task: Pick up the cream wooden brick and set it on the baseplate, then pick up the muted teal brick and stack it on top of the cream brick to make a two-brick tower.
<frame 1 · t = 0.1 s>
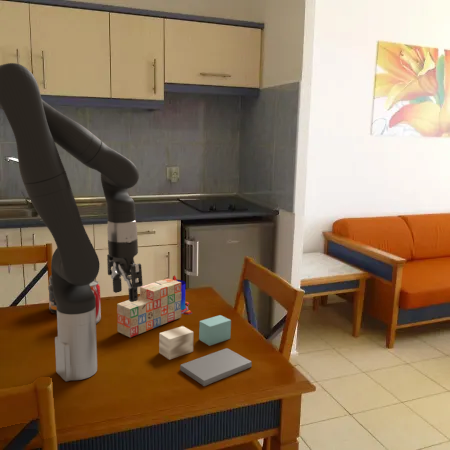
hand: (125, 296, 126), 17 cm above the table, tool pointing down, fingers open, 8 cm apart
baseplate: (216, 368, 125), on the table
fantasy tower: (174, 309, 165), on the table, touching stack of blocks
teal brick: (214, 339, 142), on the table
cream brick: (176, 352, 133), on the table
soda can: (89, 322, 152), on the table
supplement container: (65, 310, 161), on the table
stack of blocks: (150, 325, 151), on the table, touching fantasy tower
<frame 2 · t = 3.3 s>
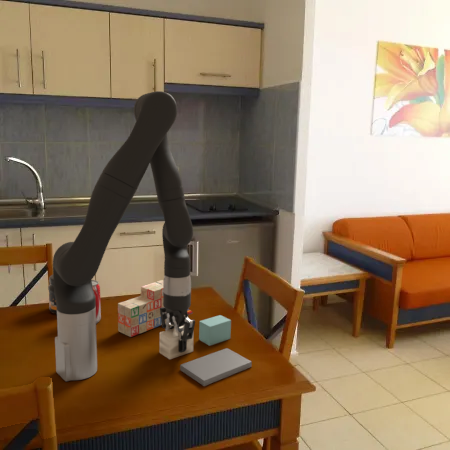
hand: (176, 347, 133), 1 cm above the table, tool pointing down, fingers closed on cream brick, 5 cm apart
cream brick: (176, 352, 133), on the table, touching gripper
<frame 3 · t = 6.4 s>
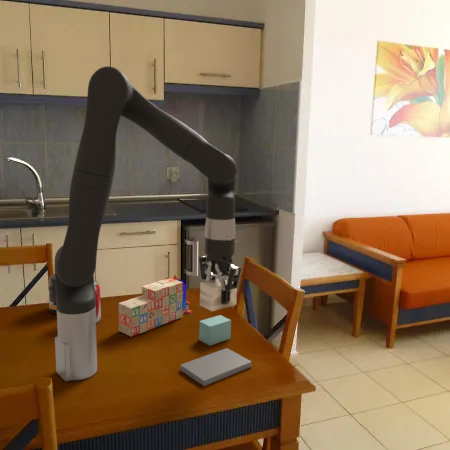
hand: (218, 300, 121), 19 cm above the table, tool pointing down, fingers closed on cream brick, 5 cm apart
cream brick: (218, 304, 122), point 18 cm above the table, touching gripper
when the fingers open (4 cm above the table, at t = 9.5 s): cream brick drops 1 cm, resting on baseplate.
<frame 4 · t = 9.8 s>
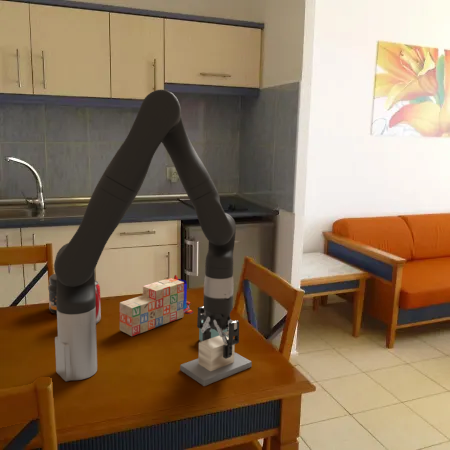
hand: (216, 351, 124), 5 cm above the table, tool pointing down, fingers open, 8 cm apart
cream brick: (216, 362, 125), point 1 cm above the table, touching baseplate
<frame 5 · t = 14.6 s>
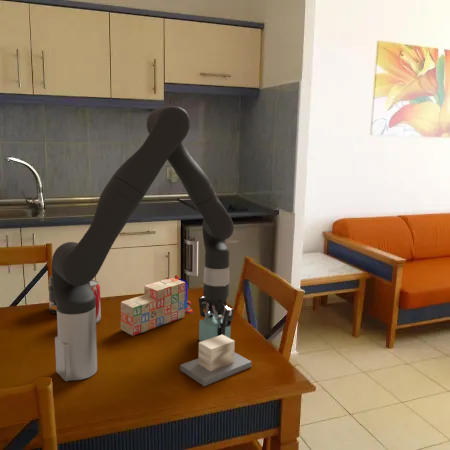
hand: (214, 335, 142), 1 cm above the table, tool pointing down, fingers closed on teal brick, 5 cm apart
teal brick: (214, 339, 142), on the table, touching gripper
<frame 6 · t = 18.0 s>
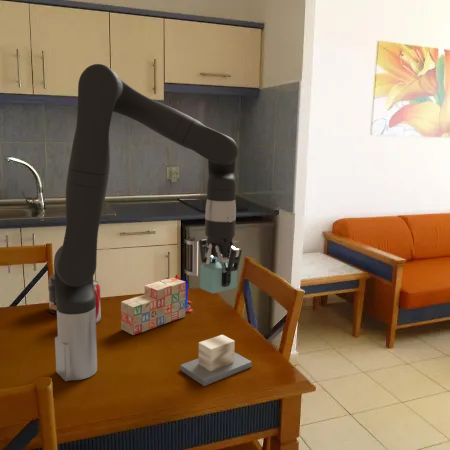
hand: (218, 282, 121), 23 cm above the table, tool pointing down, fingers closed on teal brick, 5 cm apart
teal brick: (218, 287, 121), point 22 cm above the table, touching gripper
when the fingers open (10 cm above the table, at t = 21.7 s): teal brick drops 1 cm, resting on cream brick.
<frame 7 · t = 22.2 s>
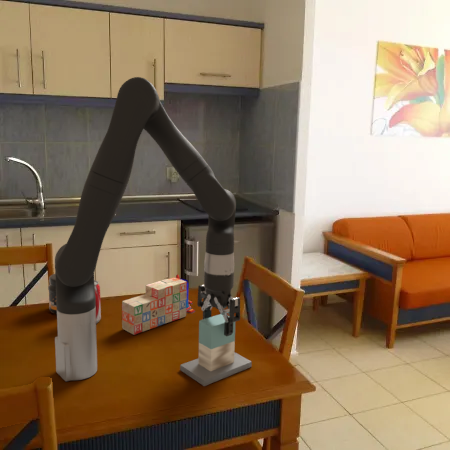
hand: (217, 329, 123), 11 cm above the table, tool pointing down, fingers open, 8 cm apart
teal brick: (216, 341, 124), point 7 cm above the table, touching cream brick
cream brick: (216, 362, 125), point 1 cm above the table, touching baseplate, teal brick
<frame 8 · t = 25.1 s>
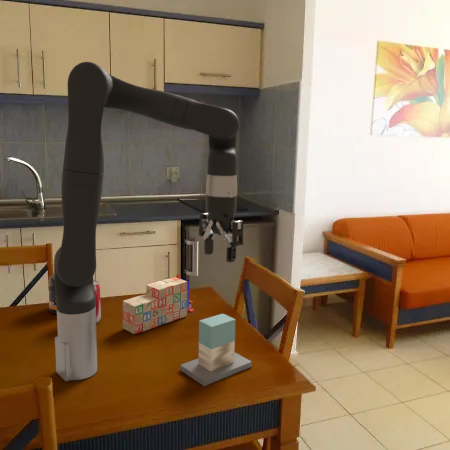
hand: (219, 257, 119), 30 cm above the table, tool pointing down, fingers open, 8 cm apart
at the end: cream brick 0.1 cm off-centre on the baseplate, point 1.5 cm above the baseplate's base; teal brick 0.0 cm off-centre on the cream brick, point 6.0 cm above the cream brick's base; teal brick tilted 0° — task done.
